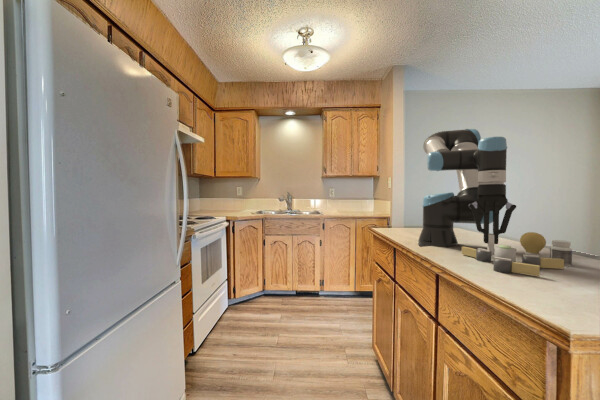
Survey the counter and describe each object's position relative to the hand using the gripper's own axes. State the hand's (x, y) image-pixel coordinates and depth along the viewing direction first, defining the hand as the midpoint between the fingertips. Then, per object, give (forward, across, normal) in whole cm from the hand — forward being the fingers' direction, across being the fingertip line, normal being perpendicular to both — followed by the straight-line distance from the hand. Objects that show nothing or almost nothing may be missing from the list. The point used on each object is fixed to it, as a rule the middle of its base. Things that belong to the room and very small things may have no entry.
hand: (490, 253), depth 84 cm
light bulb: (+3, +12, +6) cm, 14 cm away
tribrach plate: (+3, +2, -10) cm, 10 cm away
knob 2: (+2, +3, -17) cm, 17 cm away
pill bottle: (+3, +18, +2) cm, 18 cm away
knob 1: (+1, -5, -3) cm, 6 cm away
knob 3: (+2, +11, -7) cm, 13 cm away
